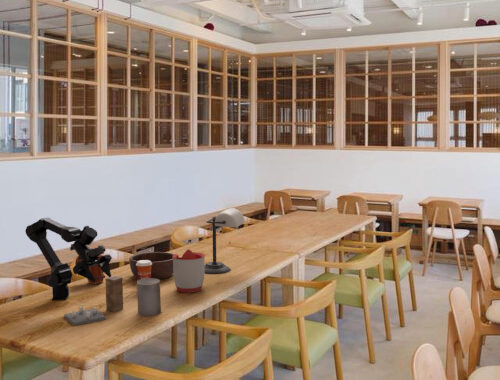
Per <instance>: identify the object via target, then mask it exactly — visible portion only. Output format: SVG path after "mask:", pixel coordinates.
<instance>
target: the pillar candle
mask: <svg viewBox="0 0 500 380" xmlns="http://www.w3.org/2000/svg"><path fill="white" fill-rule="evenodd" d="M136 293H137V295H136V296H137V314H138V315H140V316H143V317H146V316H148V317H149V316H150V317H151V316H156V315H159V314H160V313H162V304H161V303H162V302H161V300H162V299H161V279H155V278H146V279H141V280H138V279H137V281H136Z"/></svg>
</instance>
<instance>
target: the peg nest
mask: <svg viewBox="0 0 500 380" xmlns="http://www.w3.org/2000/svg"><path fill="white" fill-rule="evenodd" d="M78 308H79V309H78V310H79V311H76V310H73V311H71V312H69V313H64V318H65V319H66V320H67V321H68V323H71V325H72V326H79V325H80V326H81V325H85V324H90V323H95V322H101V321H106V319H107V317H106V316H105V315H104V314H103V313H101V312H100V311H99V310H98V307H97V306H93V307H92V308H90V309H86V310H84V306H79V307H78Z"/></svg>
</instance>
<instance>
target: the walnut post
mask: <svg viewBox="0 0 500 380" xmlns="http://www.w3.org/2000/svg"><path fill="white" fill-rule="evenodd" d="M104 279H105V305H106V306H105V308H106V311H108V312H113V313H117V312H119V311H121V310H124V294H123V293H124V291H123V290H124V288H123V285H124V283H123V277H122V276H117V275H111V277H105V278H104Z"/></svg>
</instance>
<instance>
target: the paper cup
mask: <svg viewBox="0 0 500 380" xmlns="http://www.w3.org/2000/svg"><path fill="white" fill-rule="evenodd" d="M136 265H137V276H138V278H137V281H138V280H141V279H146V278H151V265H152V262H151V261H149V260H140V261H137V264H136Z"/></svg>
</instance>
